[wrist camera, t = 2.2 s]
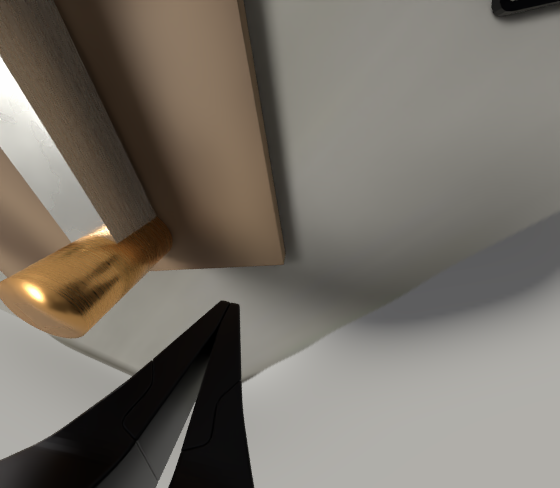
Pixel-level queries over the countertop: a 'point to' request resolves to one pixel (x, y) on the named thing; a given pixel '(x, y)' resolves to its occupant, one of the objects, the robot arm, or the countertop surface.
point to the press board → (169, 132)
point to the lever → (70, 177)
